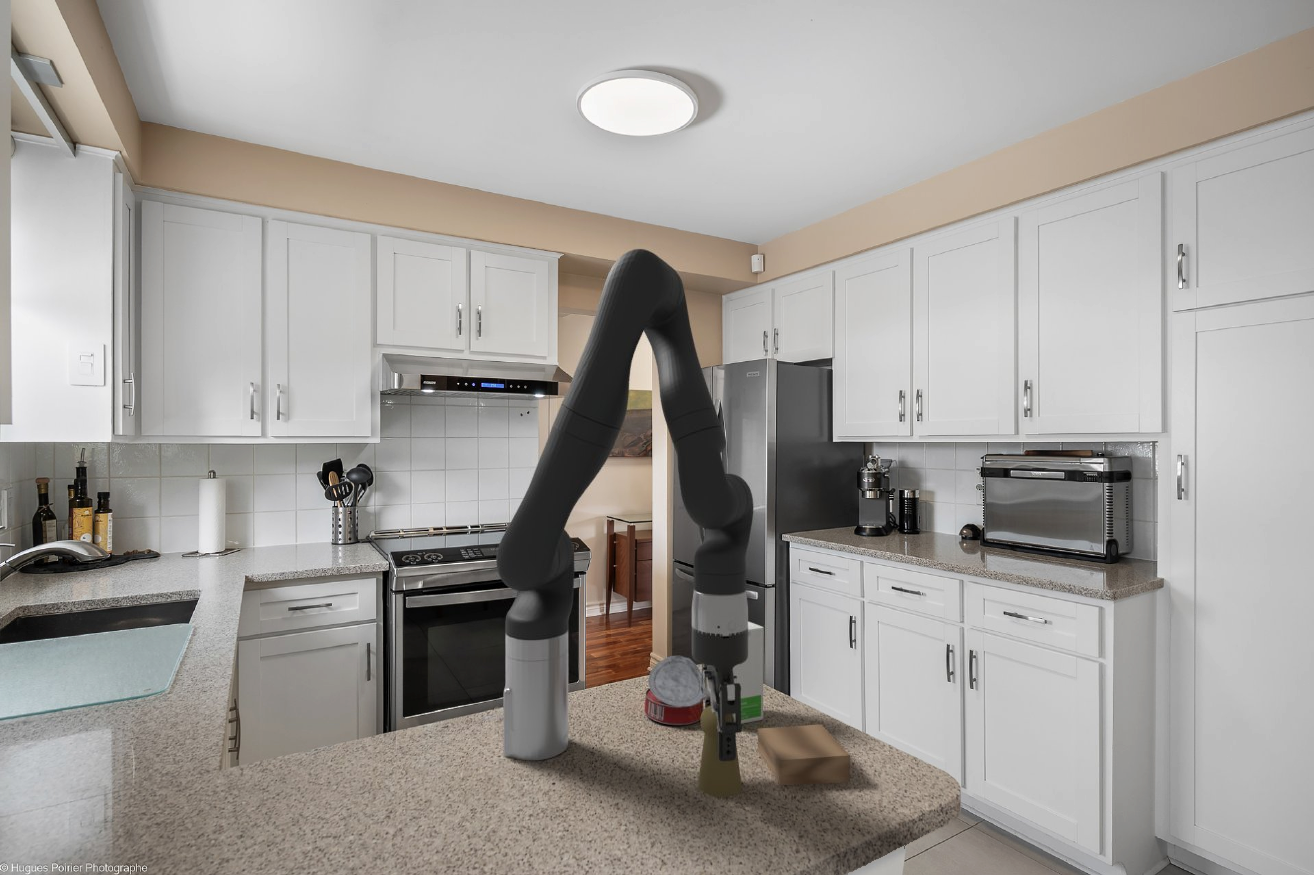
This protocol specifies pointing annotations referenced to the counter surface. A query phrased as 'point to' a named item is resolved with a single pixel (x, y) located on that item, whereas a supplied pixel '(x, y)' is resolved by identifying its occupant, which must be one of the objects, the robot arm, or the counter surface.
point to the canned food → (674, 692)
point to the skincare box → (752, 676)
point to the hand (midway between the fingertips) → (719, 744)
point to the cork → (716, 762)
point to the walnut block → (803, 755)
